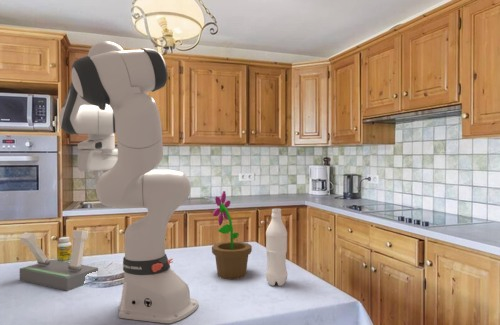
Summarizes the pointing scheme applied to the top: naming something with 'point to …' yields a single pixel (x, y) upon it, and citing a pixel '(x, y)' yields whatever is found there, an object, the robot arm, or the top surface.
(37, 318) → the top surface
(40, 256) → the on lever
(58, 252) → the supplement bottle
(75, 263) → the lever
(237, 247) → the flowerpot
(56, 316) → the top surface
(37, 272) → the switch box
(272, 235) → the water bottle
